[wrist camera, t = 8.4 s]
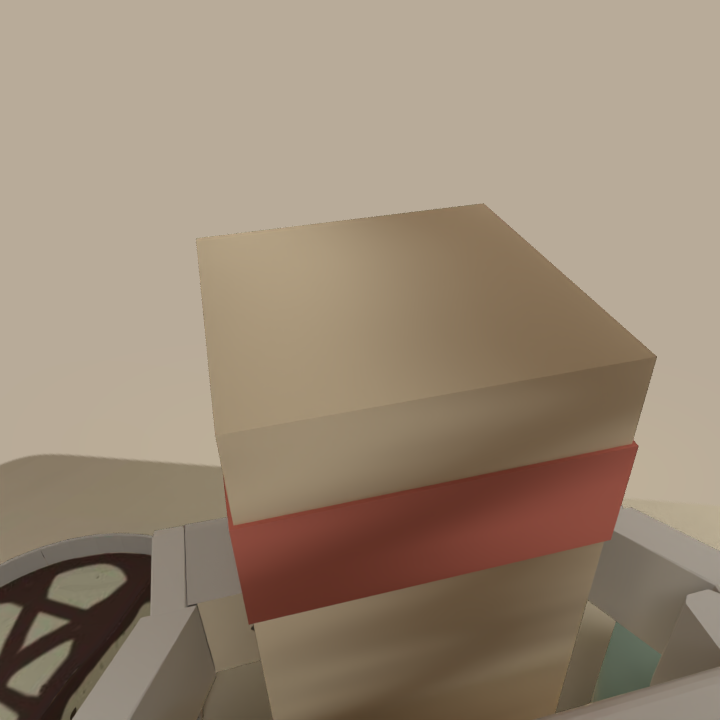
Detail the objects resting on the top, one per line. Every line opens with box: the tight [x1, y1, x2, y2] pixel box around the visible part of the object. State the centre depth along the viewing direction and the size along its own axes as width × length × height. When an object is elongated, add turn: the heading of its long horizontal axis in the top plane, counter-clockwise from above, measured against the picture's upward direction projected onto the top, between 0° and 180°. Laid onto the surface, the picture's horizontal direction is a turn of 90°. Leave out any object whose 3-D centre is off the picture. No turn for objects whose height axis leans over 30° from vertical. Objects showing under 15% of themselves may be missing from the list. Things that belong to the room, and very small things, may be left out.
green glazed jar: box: [589, 621, 661, 704], centre depth 22 cm, size 4×4×8 cm
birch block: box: [196, 204, 657, 720], centre depth 11 cm, size 5×5×11 cm
